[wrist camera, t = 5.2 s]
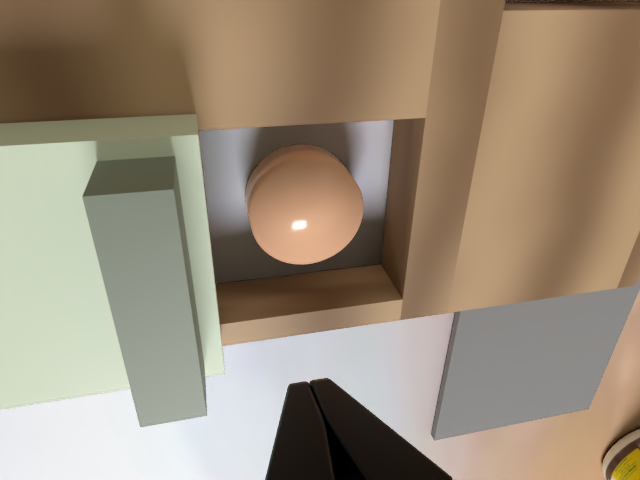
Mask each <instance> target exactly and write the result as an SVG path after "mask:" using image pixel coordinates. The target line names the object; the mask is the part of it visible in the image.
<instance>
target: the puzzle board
mask: <svg viewBox="0 0 640 480" xmlns="http://www.w3.org/2000/svg"><path fill="white" fill-rule="evenodd" d="M184 114H197V123H198V131H200V130H218V129H236V128H254V127H272V126H289V125H307V124H325V123H343V122H361V121H378V120H394V128H393V139H392V150H391V160H390V171H389V182H388V192H387V203H386V214H385V224H384V235H383V246H382V256H381V264H379V265H370V266H362V267H354V268H345V269H337V270H329V271H321V272H312V273H304V274H296V275H287V276H279V277H271V278H262V279H254V280H246V281H237V282H229V283H221V284H216V293H217V302H218V311H219V320H220V329H221V338H222V346H226V345H233V344H239V343H246V342H253V341H260V340H267V339H274V338H280V337H287V336H294V335H301V334H308V333H315V332H321V331H328V330H335V329H342V328H349V327H356V326H362V325H369V324H376V323H383V322H390V321H397V320H403V319H410V318H417V317H424V316H431V315H438V314H444V313H451V312H458V311H465V310H472V309H479V308H485V307H492V306H499V305H506V304H513V303H520V302H527V301H533V300H540V299H547V298H554V297H561V296H568V295H574V294H581V293H588V292H595V291H602V290H609V289H615V288H622V287H629V286H636V285H637V283H638V280H639V278H640V2H515V3H505V0H0V124H1V123H22V122H42V121H62V120H83V119H103V118H123V117H143V116H164V115H184Z"/></svg>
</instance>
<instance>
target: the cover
mask: <svg viewBox="0 0 640 480" xmlns="http://www.w3.org/2000/svg"><path fill="white" fill-rule="evenodd" d="M221 374H225V369H224V358H223V348H222V338H221V329H220V320H219V311H218V302H217V293H216V284H215V275H214V266H213V257H212V248H211V239H210V230H209V222H208V213H207V204H206V195H205V186H204V177H203V168H202V159H201V150H200V141H199V132H198V123H197V114H184V115H164V116H143V117H123V118H103V119H83V120H62V121H42V122H22V123H1V124H0V409H6V408H13V407H19V406H25V405H32V404H38V403H44V402H50V401H57V400H63V399H69V398H76V397H82V396H88V395H95V394H101V393H107V392H114V391H120V390H126V389H131V392H132V396H133V400H134V404H135V408H136V412H137V416H138V420H139V424H140V427H145V426H150V425H156V424H162V423H168V422H173V421H179V420H185V419H191V418H196V417H202V416H207V406H206V385H205V377H209V376H215V375H221Z"/></svg>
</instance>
